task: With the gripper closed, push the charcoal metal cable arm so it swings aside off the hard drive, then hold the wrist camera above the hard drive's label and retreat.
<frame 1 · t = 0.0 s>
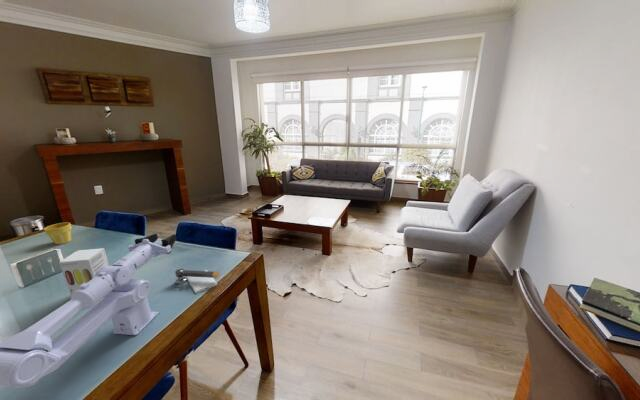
hand: (166, 236, 93), 22 cm above the table, tool horizontal, fingers open, 7 cm apart
supplement box: (95, 293, 96), on the table
cable arm: (196, 273, 101), point 4 cm above the table, hinge at 0.0°
plant pot: (63, 242, 140), on the table
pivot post: (181, 280, 103), on the table
hard drive: (202, 283, 102), on the table
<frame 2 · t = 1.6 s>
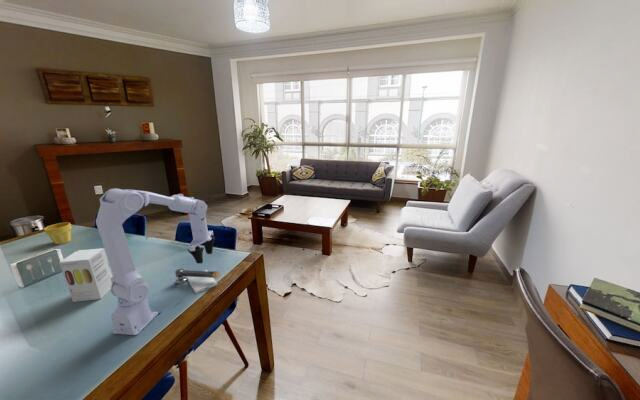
hand: (204, 258, 104), 8 cm above the table, tool pointing down, fingers open, 7 cm apart
nothing on the table moved.
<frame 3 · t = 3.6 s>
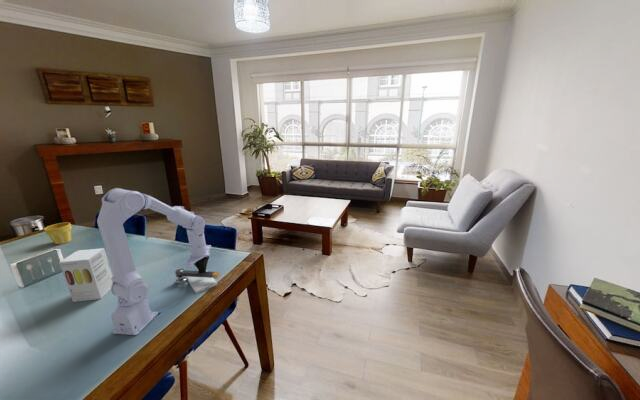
hand: (203, 273, 103), 3 cm above the table, tool pointing down, fingers closed, pressing on cable arm
cable arm: (196, 273, 101), point 4 cm above the table, hinge at 0.2°, touching gripper
everything else where it was.
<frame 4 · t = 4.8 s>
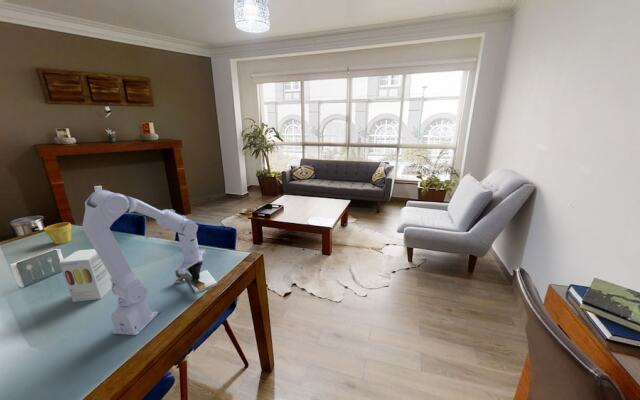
hand: (196, 279, 98), 3 cm above the table, tool pointing down, fingers closed, pressing on cable arm
cable arm: (189, 279, 98), point 4 cm above the table, hinge at 28.8°, touching gripper
everything else where it was.
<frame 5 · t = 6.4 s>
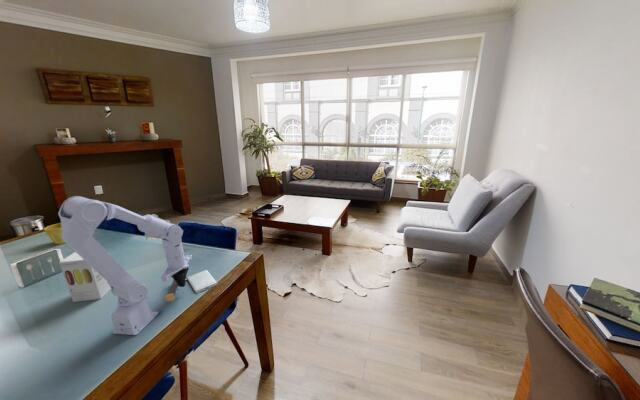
hand: (181, 286, 94), 3 cm above the table, tool pointing down, fingers closed
cable arm: (175, 283, 95), point 4 cm above the table, hinge at 66.8°, touching gripper
everything else where it was.
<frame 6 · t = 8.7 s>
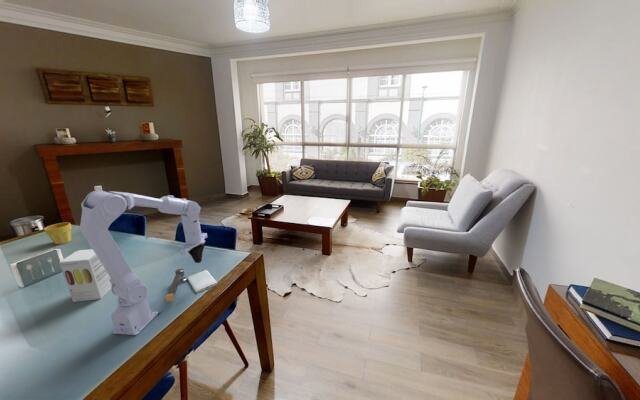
hand: (198, 261, 99), 9 cm above the table, tool pointing down, fingers closed
cable arm: (175, 283, 95), point 4 cm above the table, hinge at 66.9°
everything else where it was.
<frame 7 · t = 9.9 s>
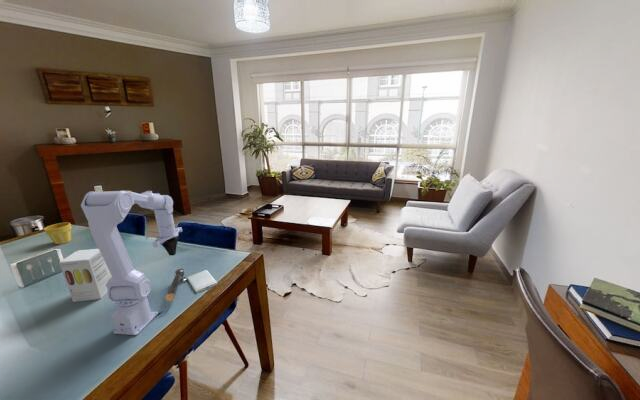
hand: (172, 254, 103), 10 cm above the table, tool pointing down, fingers closed
nothing on the table moved.
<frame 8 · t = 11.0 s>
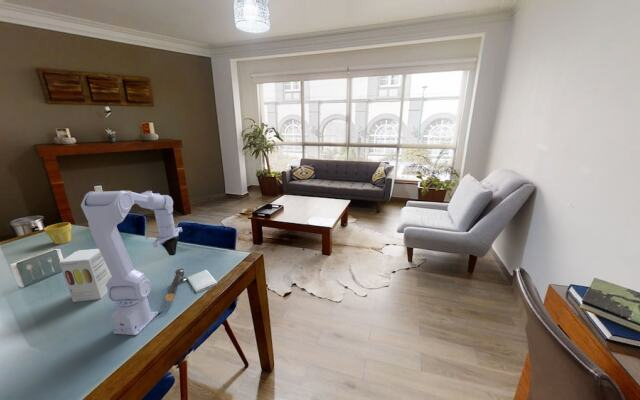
hand: (172, 254, 103), 10 cm above the table, tool pointing down, fingers closed
nothing on the table moved.
at the end: cable arm at +67° (first picture: +0°); hard drive moved 0.8 cm from its start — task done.
